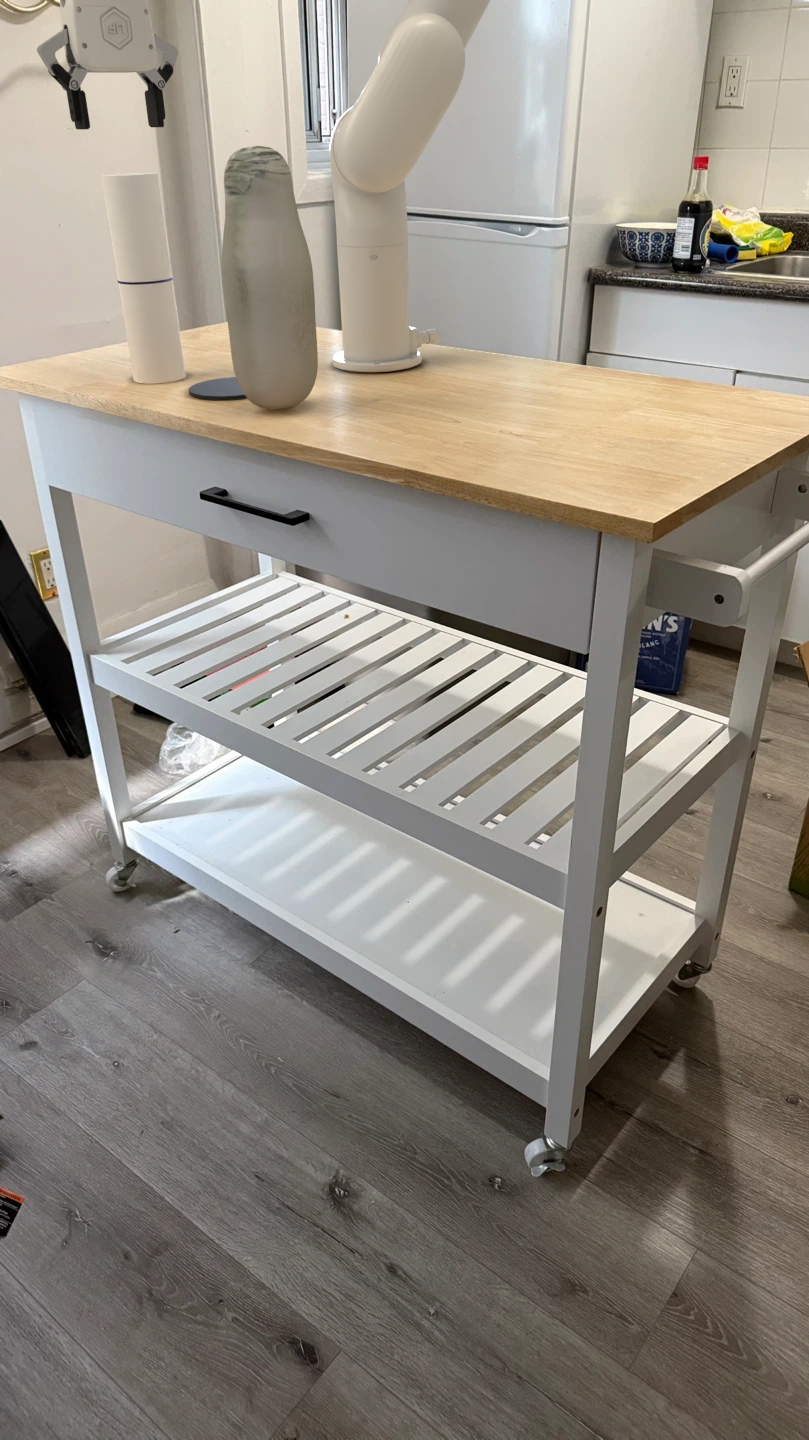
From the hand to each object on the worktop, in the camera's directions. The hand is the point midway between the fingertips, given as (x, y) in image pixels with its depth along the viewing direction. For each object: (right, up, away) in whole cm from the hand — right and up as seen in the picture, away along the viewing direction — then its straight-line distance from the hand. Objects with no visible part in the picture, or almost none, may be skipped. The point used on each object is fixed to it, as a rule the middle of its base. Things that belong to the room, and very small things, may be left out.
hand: (120, 128), depth 127 cm
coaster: (+12, -30, +8) cm, 33 cm away
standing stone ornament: (+20, -35, -1) cm, 40 cm away
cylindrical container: (+1, -26, +16) cm, 30 cm away
